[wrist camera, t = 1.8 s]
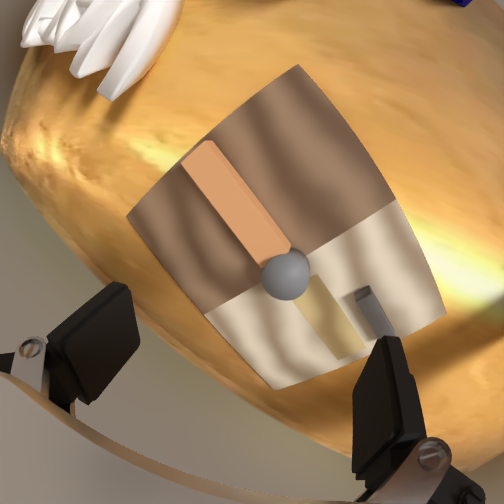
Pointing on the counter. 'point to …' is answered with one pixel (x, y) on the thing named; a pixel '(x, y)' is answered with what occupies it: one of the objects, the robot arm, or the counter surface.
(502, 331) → the counter surface
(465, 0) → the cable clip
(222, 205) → the bar
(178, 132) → the counter surface
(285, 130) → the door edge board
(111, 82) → the wavy white extrusion
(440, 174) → the counter surface
